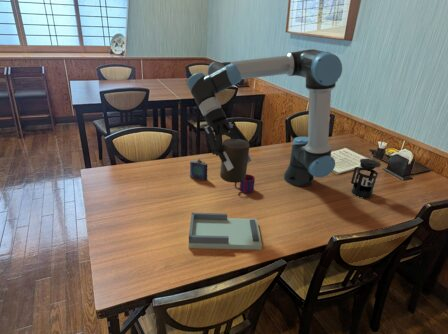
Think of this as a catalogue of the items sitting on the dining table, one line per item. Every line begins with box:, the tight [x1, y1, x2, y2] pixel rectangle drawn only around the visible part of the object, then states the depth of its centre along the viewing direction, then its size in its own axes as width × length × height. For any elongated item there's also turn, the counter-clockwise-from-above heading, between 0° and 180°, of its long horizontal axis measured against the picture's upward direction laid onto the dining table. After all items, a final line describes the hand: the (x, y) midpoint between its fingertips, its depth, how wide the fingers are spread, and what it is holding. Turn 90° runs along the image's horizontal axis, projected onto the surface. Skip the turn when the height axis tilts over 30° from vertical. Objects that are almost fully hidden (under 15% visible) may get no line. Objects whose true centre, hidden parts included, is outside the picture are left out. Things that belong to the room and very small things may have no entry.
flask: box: [189, 158, 208, 182], centre depth 154 cm, size 9×3×11 cm, turn 71°
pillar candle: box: [219, 138, 250, 184], centre depth 113 cm, size 10×10×15 cm
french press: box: [350, 148, 382, 199], centre depth 146 cm, size 12×9×23 cm
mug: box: [234, 173, 256, 194], centre depth 146 cm, size 7×10×7 cm
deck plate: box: [188, 212, 263, 251], centre depth 115 cm, size 26×16×4 cm, turn 91°
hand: (240, 165), depth 111 cm, fingers closed on pillar candle, 10 cm apart
